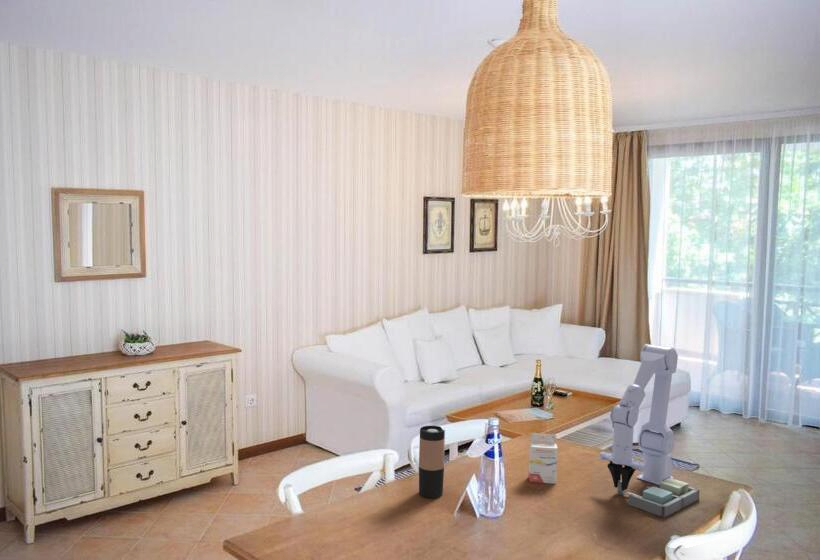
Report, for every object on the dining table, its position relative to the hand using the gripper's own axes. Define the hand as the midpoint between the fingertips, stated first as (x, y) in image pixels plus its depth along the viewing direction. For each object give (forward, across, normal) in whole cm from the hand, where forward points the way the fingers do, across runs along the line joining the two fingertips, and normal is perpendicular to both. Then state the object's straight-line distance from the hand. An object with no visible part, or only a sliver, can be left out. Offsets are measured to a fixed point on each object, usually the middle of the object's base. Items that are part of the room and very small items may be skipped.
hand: (620, 487), depth 204 cm
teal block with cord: (+2, +7, 0) cm, 7 cm away
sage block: (+2, +12, +10) cm, 16 cm away
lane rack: (+2, +12, +5) cm, 13 cm away
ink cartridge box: (+2, -22, -10) cm, 24 cm away
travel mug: (+2, -36, -46) cm, 59 cm away
